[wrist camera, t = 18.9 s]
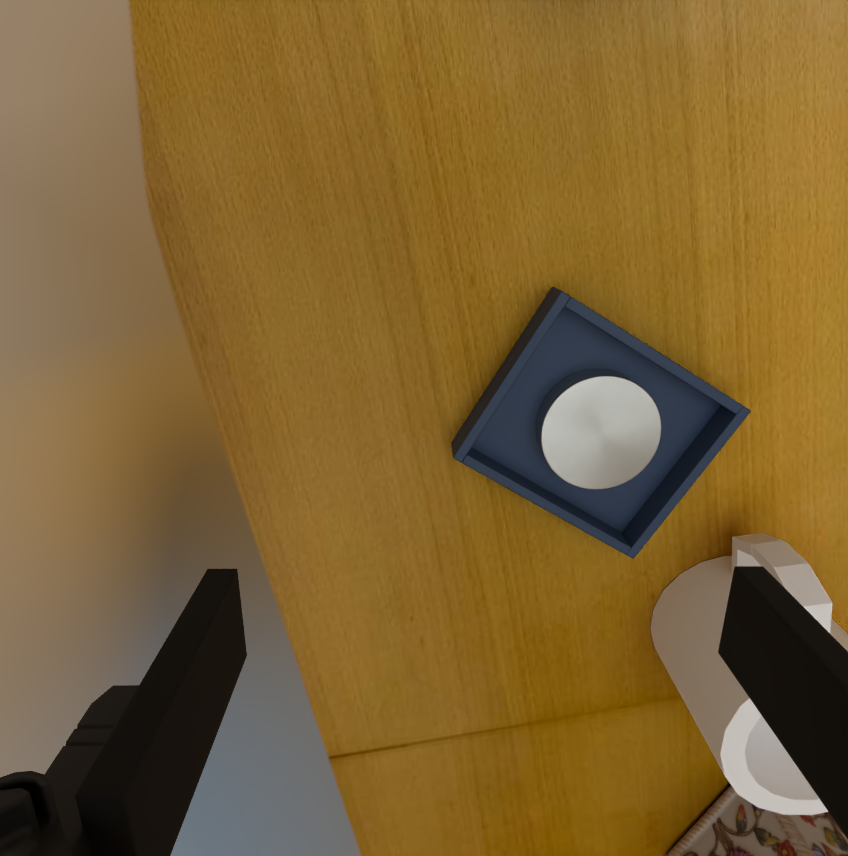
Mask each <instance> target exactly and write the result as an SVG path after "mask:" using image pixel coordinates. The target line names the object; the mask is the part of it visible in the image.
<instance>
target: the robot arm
mask: <svg viewBox="0 0 848 856" xmlns="http://www.w3.org/2000/svg"><path fill="white" fill-rule="evenodd" d="M718 653H719V655H720V656H721V658H722V659H723V660H724V662H725V663H726V665H727V666H728V668H729V669H730V671H731V672H732V673H733V675H734V676H735V678H736V679H737V681H738V682H739V683H740V685H741V686H742V688H743V689H744V691H745V692H746V694H747V695H748V696H749V698H750V699H751V701H752V702H753V704H754V705H755V707H756V708H757V709H758V711H759V712H760V714H761V715H762V717H763V718H764V720H765V721H766V722H767V724H768V725H769V727H770V728H771V730H772V731H773V732H774V734H775V735H776V737H777V738H778V740H779V741H780V743H781V744H782V745H783V747H784V748H785V750H786V751H787V753H788V754H789V756H790V757H791V758H792V760H793V761H794V763H795V764H796V766H797V767H798V768H799V770H800V771H801V773H802V774H803V776H804V777H805V779H806V780H807V781H808V783H809V784H810V786H811V787H812V789H813V790H814V792H815V793H816V794H817V796H818V797H819V799H820V800H821V802H822V803H823V805H824V806H825V807H826V809H827V810H828V812H829V813H830V815H831V816H832V817H833V819H834V820H835V822H836V823H837V825H838V826H839V828H840V829H841V830H842V832H843V833H844V835H845V836H846V838H847V839H848V651H847V650H846V649H845V648H844V647H843V646H842V645H841V644H840V643H839V642H838V641H837V640H836V639H835V638H834V637H833V636H832V635H831V634H830V633H829V632H828V631H827V630H826V629H825V628H824V627H823V626H822V625H821V624H820V623H819V622H818V621H817V620H816V619H815V618H814V617H813V616H812V615H811V614H810V613H809V612H808V611H807V610H806V609H805V608H804V607H803V606H802V605H801V604H800V603H799V602H798V601H797V600H796V599H795V598H794V597H793V596H792V595H791V594H790V593H789V592H788V591H787V590H786V589H785V588H784V587H783V586H782V585H781V584H780V583H779V582H778V581H777V580H776V579H775V578H774V577H773V576H772V575H771V574H770V573H769V572H768V571H767V570H766V569H765V568H764V567H763V566H734V572H733V577H732V582H731V587H730V592H729V597H728V603H727V608H726V613H725V618H724V623H723V628H722V634H721V639H720V644H719V649H718ZM246 656H247V653H246V644H245V636H244V626H243V617H242V608H241V600H240V591H239V581H238V573H237V569H208V570H207V571H206V573H205V575H204V576H203V578H202V580H201V581H200V583H199V585H198V586H197V588H196V590H195V592H194V593H193V595H192V597H191V598H190V600H189V602H188V604H187V605H186V607H185V609H184V610H183V612H182V614H181V615H180V617H179V619H178V621H177V622H176V624H175V626H174V628H173V629H172V631H171V633H170V634H169V636H168V638H167V639H166V641H165V643H164V644H163V646H162V648H161V649H160V651H159V653H158V655H157V656H156V658H155V660H154V661H153V663H152V665H151V666H150V669H149V670H148V672H147V673H146V675H145V677H144V678H143V680H142V682H141V684H140V685H137V686H112V687H111V688H110V689H109V690H107V691H106V692H105V693H104V694H103V695H101V696H100V697H99V698H98V699H97V700H96V701H94V702H93V703H92V704H91V705H90V707H89V708H88V710H87V711H86V713H85V714H84V716H83V717H82V719H81V720H80V722H79V724H78V727H77V729H74V731H73V733H72V734H71V735H70V737H69V739H68V740H67V742H66V746H64V747H63V748H62V749H61V751H60V752H59V754H58V755H57V757H56V758H55V760H54V761H53V763H52V764H51V766H50V767H49V769H48V770H47V772H46V773H45V775H44V774H40V773H37V772H33V771H26V772H16V773H12V774H9V775H7V776H4V777H1V778H0V856H170V855H171V852H172V850H173V846H174V844H175V842H176V839H177V836H178V834H179V831H180V828H181V826H182V823H183V821H184V818H185V815H186V813H187V810H188V808H189V805H190V802H191V799H192V797H193V795H194V792H195V789H196V787H197V784H198V782H199V779H200V776H201V774H202V771H203V768H204V766H205V763H206V761H207V758H208V755H209V753H210V750H211V748H212V745H213V742H214V740H215V737H216V735H217V732H218V729H219V727H220V724H221V721H222V719H223V716H224V714H225V711H226V708H227V705H228V703H229V701H230V698H231V695H232V692H233V690H234V688H235V685H236V682H237V679H238V677H239V674H240V672H241V669H242V667H243V664H244V661H245V659H246Z"/></svg>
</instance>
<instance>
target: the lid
mask: <svg viewBox="0 0 848 856" xmlns="http://www.w3.org/2000/svg"><path fill="white" fill-rule="evenodd" d="M661 428H662V426H661V417H660V413H659V410H658V408H657V405H656V403H655V402H654V400H653V398H652V397H651V396H650V395H649V393H648V392H647V391H646V390H644V389H643V388H642V387H641V386H640V385H638V384H637V383H636V382H634V381H633V380H631V379H630V378H629V377H627V376H625V375H623V374H621V373H619V372H616V371H613V370H607V369H589V370H584V371H580V372H577V373H574V374H572V375H570V376H568V377H566V378H565V379H563V380H561V381H560V382H559V383H558V384H556V385H555V386H554V387H553V388H552V389H551V390H550V391H549V393H548V394H547V395H546V397H545V398H544V400H543V402H542V404H541V406H540V408H539V411H538V414H537V418H536V438H537V442H538V445H539V447H540V450H541V452H542V454H543V456H544V458H545V459H546V461H547V463H548V465H549V466H550V468H551V469H552V470H553V471H554V472H555V474H556V475H558V476H559V477H560V478H561V479H563V480H564V481H566V482H567V483H570V484H572V485H574V486H577V487H580V488H585V489H595V490H596V489H607V488H612V487H615V486H618V485H621V484H623V483H625V482H627V481H629V480H631V479H632V478H634V477H635V476H637V475H638V474H639V473H640V472H641V471H642V470H643V469H644V468H645V467H646V466H647V465H648V464H649V463H650V461H651V460H652V458H653V456H654V455H655V453H656V451H657V448H658V445H659V442H660V437H661Z"/></svg>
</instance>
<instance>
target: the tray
mask: <svg viewBox="0 0 848 856" xmlns="http://www.w3.org/2000/svg"><path fill="white" fill-rule="evenodd" d="M589 369H607V370H613V371H616V372H619V373H621V374H623V375H625V376H627V377H629V378H630V379H631V380H633V381H634V382H636V383H637V384H638V385H640V386H641V387H642V388H643V389H644V390H646V391H647V392H648V393H649V395H650V396H651V397H652V398H653V400H654V402H655V403H656V405H657V408H658V410H659V413H660V417H661V426H662V428H661V437H660V442H659V445H658V448H657V451H656V453H655V455H654V456H653V458H652V460H651V461H650V463H649V464H648V465H647V466H646V467H645V468H644V469H643V470H642V471H641V472H640V473H639V474H638V475H637V476H635V477H634V478H632V479H631V480H629V481H627V482H625V483H623V484H621V485H618V486H615V487H612V488H607V489H596V490H595V489H585V488H580V487H577V486H574V485H572V484H570V483H567V482H566V481H564V480H563V479H561V478H560V477H559V476H558V475H556V474H555V472H554V471H553V470H552V469H551V468H550V466H549V465H548V463H547V461H546V459H545V458H544V456H543V454H542V452H541V450H540V447H539V445H538V442H537V438H536V418H537V414H538V411H539V408H540V406H541V404H542V402H543V400H544V398H545V397H546V395H547V394H548V393H549V391H550V390H551V389H552V388H553V387H554V386H555V385H556V384H558V383H559V382H560V381H561V380H563V379H565V378H566V377H568V376H570V375H572V374H574V373H577V372H580V371H584V370H589ZM750 412H751V411H750V410H749V409H748V408H746V407H744V406H743V405H741V404H740V403H738V402H736V401H735V400H733V399H732V398H730V397H729V396H727V395H725V394H724V393H722V392H721V391H719V390H718V389H716V388H714V387H713V386H711V385H710V384H708V383H706V382H705V381H703V380H702V379H700V378H699V377H697V376H695V375H694V374H692V373H691V372H689V371H688V370H686V369H684V368H683V367H681V366H680V365H678V364H676V363H675V362H673V361H672V360H670V359H669V358H667V357H665V356H664V355H662V354H661V353H659V352H658V351H656V350H654V349H653V348H651V347H650V346H648V345H646V344H645V343H643V342H642V341H640V340H639V339H637V338H635V337H634V336H632V335H631V334H629V333H628V332H626V331H624V330H623V329H621V328H620V327H618V326H616V325H615V324H613V323H612V322H610V321H609V320H607V319H605V318H604V317H602V316H601V315H599V314H598V313H596V312H594V311H593V310H591V309H590V308H588V307H586V306H585V305H583V304H582V303H580V302H579V301H577V300H575V299H574V298H572V297H570V296H569V295H568V294H566V293H564V292H563V291H561V290H559V289H557V288H554V287H552V288H551V290H550V291H549V293H548V294H547V296H546V297H545V299H544V300H543V302H542V304H541V305H540V307H539V308H538V310H537V311H536V313H535V314H534V316H533V317H532V319H531V321H530V322H529V324H528V325H527V327H526V328H525V330H524V331H523V333H522V334H521V336H520V338H519V339H518V341H517V342H516V344H515V345H514V347H513V348H512V350H511V351H510V353H509V355H508V356H507V358H506V359H505V361H504V362H503V364H502V365H501V367H500V368H499V370H498V372H497V373H496V375H495V376H494V378H493V379H492V381H491V382H490V384H489V386H488V387H487V389H486V390H485V392H484V393H483V395H482V396H481V398H480V399H479V401H478V403H477V404H476V406H475V407H474V409H473V410H472V412H471V413H470V415H469V416H468V418H467V420H466V421H465V423H464V424H463V426H462V427H461V429H460V430H459V432H458V433H457V435H456V437H455V438H454V440H453V441H452V443H451V444H452V452H453V458H454V459H456V460H458V461H460V462H462V463H463V464H465V465H467V466H469V467H470V468H472V469H474V470H476V471H477V472H479V473H481V474H483V475H485V476H486V477H488V478H490V479H492V480H494V481H495V482H497V483H499V484H501V485H502V486H504V487H506V488H508V489H510V490H511V491H513V492H515V493H517V494H518V495H520V496H522V497H524V498H526V499H527V500H529V501H531V502H533V503H535V504H536V505H538V506H540V507H542V508H543V509H545V510H547V511H549V512H551V513H552V514H554V515H556V516H558V517H560V518H561V519H563V520H565V521H567V522H568V523H570V524H572V525H574V526H576V527H577V528H579V529H581V530H583V531H584V532H586V533H588V534H590V535H592V536H593V537H595V538H597V539H599V540H601V541H602V542H604V543H606V544H608V545H609V546H611V547H613V548H615V549H617V550H618V551H620V552H622V553H624V554H626V555H627V556H629V557H631V558H633V559H634V558H635V556H636V555H637V554H638V553H639V551H640V550H641V549H642V548H643V546H644V545H645V544H646V542H647V541H648V540H649V539H650V537H651V536H652V535H653V534H654V532H655V531H656V530H657V529H658V527H659V526H660V525H661V524H662V522H663V521H664V520H665V519H666V517H667V516H668V515H669V514H670V512H671V511H672V510H673V509H674V507H675V506H676V505H677V504H678V502H679V501H680V500H681V499H682V497H683V496H684V495H685V494H686V492H687V491H688V490H689V488H690V487H691V486H692V485H693V483H694V482H695V481H696V480H697V478H698V477H699V476H700V475H701V473H702V472H703V471H704V470H705V468H706V467H707V466H708V465H709V463H710V462H711V461H712V460H713V458H714V457H715V456H716V455H717V453H718V452H719V451H720V450H721V448H722V447H723V446H724V445H725V443H726V442H727V441H728V440H729V438H730V437H731V436H732V434H733V433H734V432H735V431H736V429H737V428H738V427H739V426H740V424H741V423H742V422H743V421H744V419H745V418H746V417H747V416H748V414H749V413H750Z"/></svg>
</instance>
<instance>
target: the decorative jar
mask: <svg viewBox="0 0 848 856" xmlns="http://www.w3.org/2000/svg"><path fill="white" fill-rule="evenodd" d="M667 856H848V839H847V838H846V836H845V835H844V833H843V832H842V830H841V829H840V828H839V826H838V825H837V823H836V822H835V820H834V819H833V817H832V816H831V815H830V813H829V812H824V813H820V814H815V815H783V814H779V813H776V812H772V811H769V810H765V809H761V808H758V807H756V806H755V805H753V804H752V803H750V802H749V801H747V800H746V799H744V798H743V797H741V796H740V795H738V794H737V793H736V791H735V790H734V788H733V787H732V785H731V786H730V787H729V788H728V789H727V790H726V791H725V792H724V793H723V794H722V795H721V796H720V797H719V798H718V800H717V801H716V802H715V803H714V804H713V805H712V806H711V807H710V808H709V809H708V810H707V811H706V812H705V814H704V815H703V816H702V817H701V818H700V819H699V820H698V821H697V822H696V823H695V824H694V825H693V826H692V828H691V829H690V830H689V831H688V832H687V833H686V834H685V835H684V836H683V837H682V838H681V839H680V840H679V842H678V843H677V844H676V845H675V846H674V847H673V848H672V849H671V850H670V851H669V853H668V854H667Z"/></svg>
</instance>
